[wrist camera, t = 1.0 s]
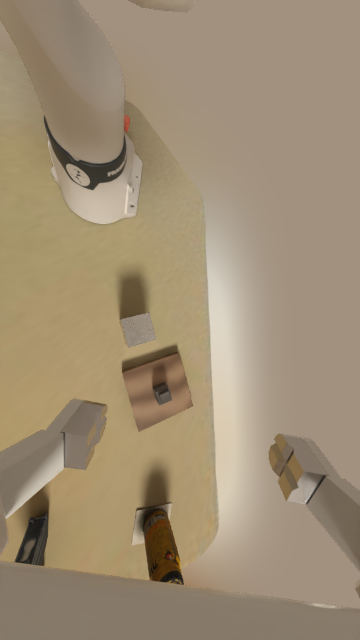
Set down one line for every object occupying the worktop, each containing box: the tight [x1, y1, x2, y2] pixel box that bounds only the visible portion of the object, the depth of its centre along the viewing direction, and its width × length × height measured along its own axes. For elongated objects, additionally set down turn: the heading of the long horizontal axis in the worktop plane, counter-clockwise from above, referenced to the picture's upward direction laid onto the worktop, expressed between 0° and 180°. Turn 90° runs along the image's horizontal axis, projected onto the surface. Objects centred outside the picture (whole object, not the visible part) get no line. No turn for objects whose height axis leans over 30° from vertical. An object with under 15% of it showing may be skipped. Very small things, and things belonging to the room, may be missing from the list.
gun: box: [15, 513, 48, 566], centre depth 26 cm, size 3×17×15 cm
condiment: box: [132, 503, 184, 585], centre depth 35 cm, size 7×8×12 cm
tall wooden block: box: [120, 313, 156, 348], centre depth 38 cm, size 5×5×10 cm
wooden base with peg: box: [122, 352, 193, 432], centre depth 40 cm, size 14×14×7 cm
